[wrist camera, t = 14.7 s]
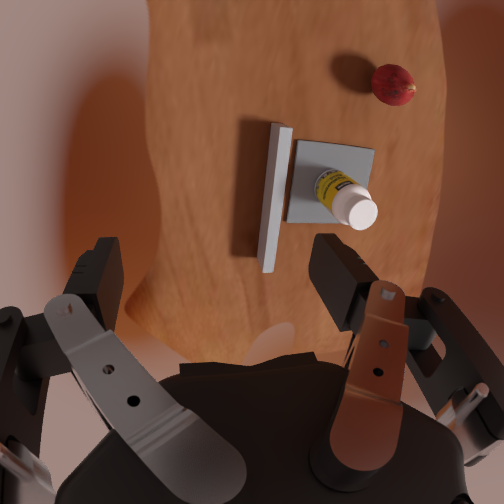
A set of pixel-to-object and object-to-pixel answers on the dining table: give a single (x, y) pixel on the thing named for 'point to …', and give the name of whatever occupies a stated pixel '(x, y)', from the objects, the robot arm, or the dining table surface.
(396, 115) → the dining table surface
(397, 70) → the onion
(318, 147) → the slate mat
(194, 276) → the dining table surface
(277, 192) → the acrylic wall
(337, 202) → the supplement bottle
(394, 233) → the dining table surface
